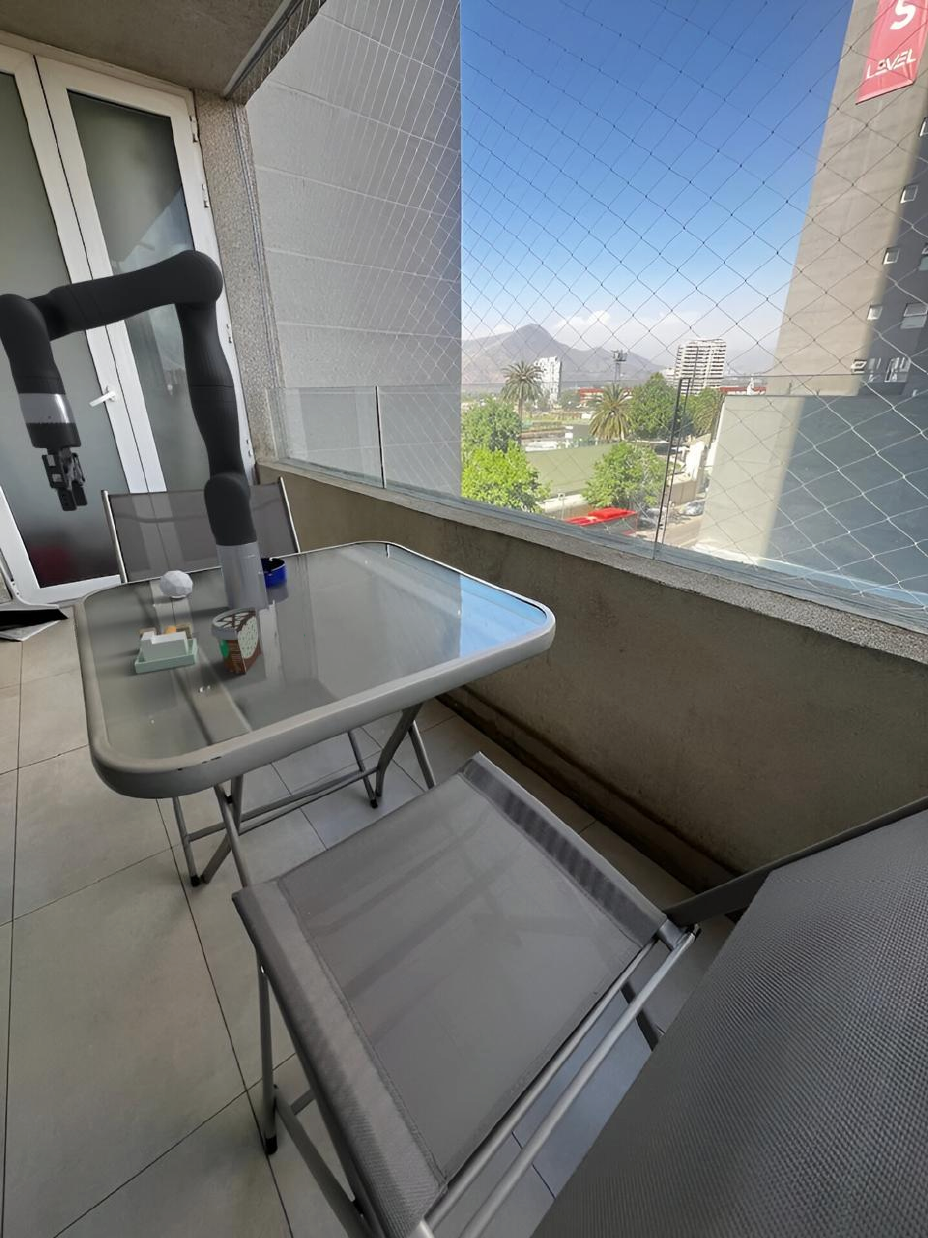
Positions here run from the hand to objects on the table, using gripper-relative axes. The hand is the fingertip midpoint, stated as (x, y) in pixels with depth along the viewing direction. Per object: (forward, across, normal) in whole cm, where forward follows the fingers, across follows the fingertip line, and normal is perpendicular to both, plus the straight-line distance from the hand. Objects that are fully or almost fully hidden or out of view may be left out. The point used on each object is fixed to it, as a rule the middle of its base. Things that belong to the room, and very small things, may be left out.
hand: (76, 508), depth 98 cm
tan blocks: (+28, -13, -12) cm, 33 cm away
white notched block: (+27, -20, -12) cm, 36 cm away
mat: (+28, -16, -12) cm, 35 cm away
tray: (+28, -20, -12) cm, 37 cm away
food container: (+28, -28, -25) cm, 47 cm away
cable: (+28, -11, -12) cm, 32 cm away
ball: (+28, +25, -11) cm, 39 cm away
